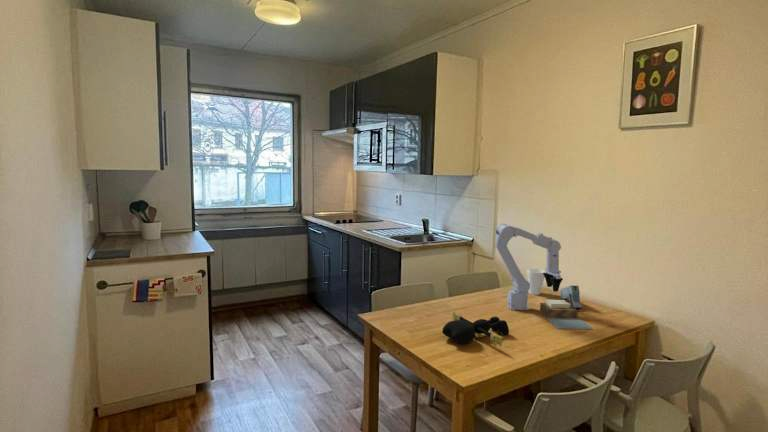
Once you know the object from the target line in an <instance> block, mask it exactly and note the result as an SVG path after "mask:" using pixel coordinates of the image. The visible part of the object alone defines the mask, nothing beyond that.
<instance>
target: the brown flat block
mask: <svg viewBox="0 0 768 432" xmlns="http://www.w3.org/2000/svg"><path fill="white" fill-rule="evenodd" d="M539 305H540V308H539V311H540V312H541V313H542V314H543V315H544V316H545V318H578V310H579V309H575V308H574V307H572V306H571V304H570V308H551V307H550V306H548V305H547V304H546V302H540V304H539Z"/></svg>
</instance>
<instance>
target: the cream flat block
mask: <svg viewBox="0 0 768 432" xmlns="http://www.w3.org/2000/svg"><path fill="white" fill-rule="evenodd" d="M545 303H546V304H547V305H548V306H550V307H551V308H570V305H571V304H570V302H568V301H566V299H546V301H545Z"/></svg>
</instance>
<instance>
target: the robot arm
mask: <svg viewBox="0 0 768 432" xmlns="http://www.w3.org/2000/svg"><path fill="white" fill-rule="evenodd" d="M494 232H495V233H494V234H495V240H494V243H495V244H494V245H495V246H494V247H495V248H496V250H497V251H498V253H499V255H500V257H501V259H502V261H503V263H504V265H505V267H506V268H507V271H508V273H509V274H510V277H511V282H512V285H513V289H512V290H508V291H507V298H506V299H507V300H506V303H507V304H506V306H507V307H508V308H509V309H510V310H511V311H530V310H531V308H529V307H528V298H529V289H530V283H529V282H528V279H526V278H525V277H524V275H523V273H521V270H520V269H519V267H518V265H517V263H516V262H515V259H514V258H513V255H512V253H511V252H510V249H509V247H508V243H509V242H510V241H511V240H512V238H513V237H515V238H517V237H518V236H519V237H521V238H524V239H527V240H530V241H531V242H532V244H533V245H536V246H539V247H541V248H543V249H546V267H544V271H545V273H543V275H544V279H545V282H546V286H547V288H552V290H553V292H559V289H560V286H561V283H562V281H564V279H563V278H562V275H561V273H562V271H561V270H560V266H559V264H560V260H559V259H560V254H559V253H560V252H559V251H560V250H561V248H562V245H561V243H560V241H558V240H556V239H554V238H552V237H551V236H547V235H544V233H542V232H539V233H538V232H537V233H531V232H529V231H527V230H524V229H522V228H519V227H517V226H514V225H508V224H506V223H500V224H498V226H497V227H496V229H495V231H494Z"/></svg>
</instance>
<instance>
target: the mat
mask: <svg viewBox="0 0 768 432" xmlns="http://www.w3.org/2000/svg"><path fill="white" fill-rule="evenodd" d="M545 319H546V320H547V321H548V322H550V323H551V324H552V325H553V327H555V328H556V329H557V330H593V329H594V328H593V327H591V326H590V325H589V324H588V323H586V322H585V321H584V320H583V319H581V318H580V317H577V318H547V317H545Z"/></svg>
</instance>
